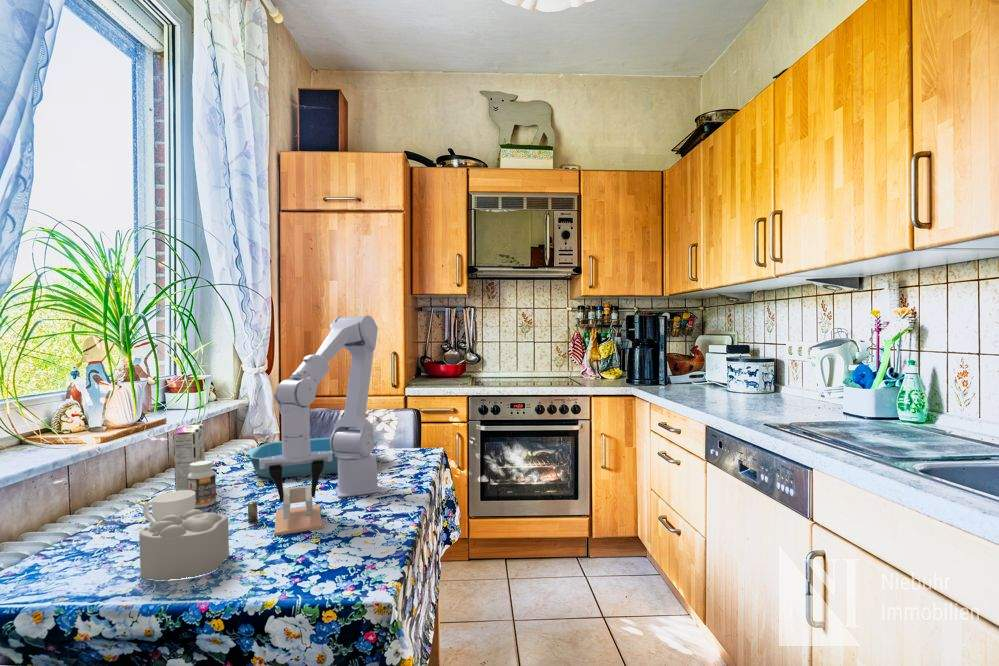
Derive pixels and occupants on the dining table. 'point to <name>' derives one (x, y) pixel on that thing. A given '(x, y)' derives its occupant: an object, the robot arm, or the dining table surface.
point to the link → (297, 499)
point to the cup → (170, 504)
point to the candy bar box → (187, 452)
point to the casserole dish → (297, 469)
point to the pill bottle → (202, 483)
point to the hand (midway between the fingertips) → (297, 497)
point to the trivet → (297, 521)
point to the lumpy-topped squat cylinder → (183, 545)
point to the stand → (252, 512)
